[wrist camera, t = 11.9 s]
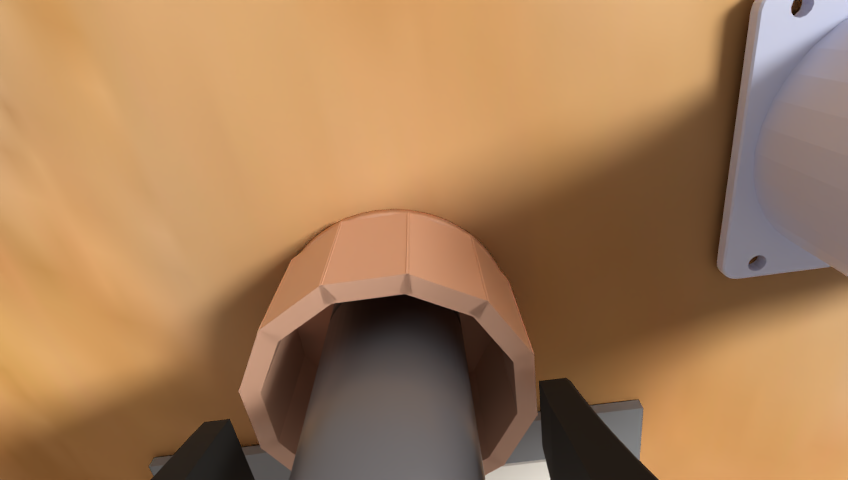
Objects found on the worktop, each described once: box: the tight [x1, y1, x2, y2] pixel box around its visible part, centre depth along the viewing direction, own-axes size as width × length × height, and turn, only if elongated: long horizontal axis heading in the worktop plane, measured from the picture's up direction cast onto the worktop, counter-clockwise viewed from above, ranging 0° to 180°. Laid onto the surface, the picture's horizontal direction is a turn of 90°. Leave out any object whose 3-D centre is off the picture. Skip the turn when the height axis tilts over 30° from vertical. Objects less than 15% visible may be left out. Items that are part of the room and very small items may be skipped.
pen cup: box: [238, 209, 538, 475], centre depth 14 cm, size 7×7×4 cm
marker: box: [289, 294, 485, 480], centre depth 11 cm, size 4×4×10 cm
